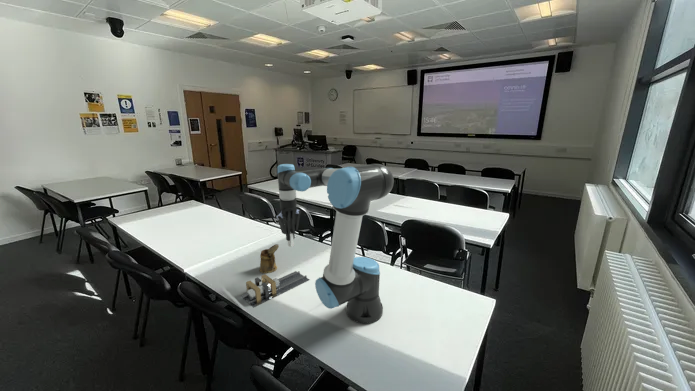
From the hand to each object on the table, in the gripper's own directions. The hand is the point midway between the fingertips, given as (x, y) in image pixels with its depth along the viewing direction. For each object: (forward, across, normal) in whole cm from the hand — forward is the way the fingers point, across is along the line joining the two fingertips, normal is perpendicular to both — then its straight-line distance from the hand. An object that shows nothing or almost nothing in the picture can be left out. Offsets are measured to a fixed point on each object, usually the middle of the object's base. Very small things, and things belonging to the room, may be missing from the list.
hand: (291, 245), depth 134 cm
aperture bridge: (+19, +16, 0) cm, 25 cm away
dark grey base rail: (+19, +9, 0) cm, 21 cm away
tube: (+18, +15, 0) cm, 24 cm away
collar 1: (+19, +20, 0) cm, 28 cm away
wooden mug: (+20, +3, -16) cm, 26 cm away
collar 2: (+19, +13, 0) cm, 23 cm away
